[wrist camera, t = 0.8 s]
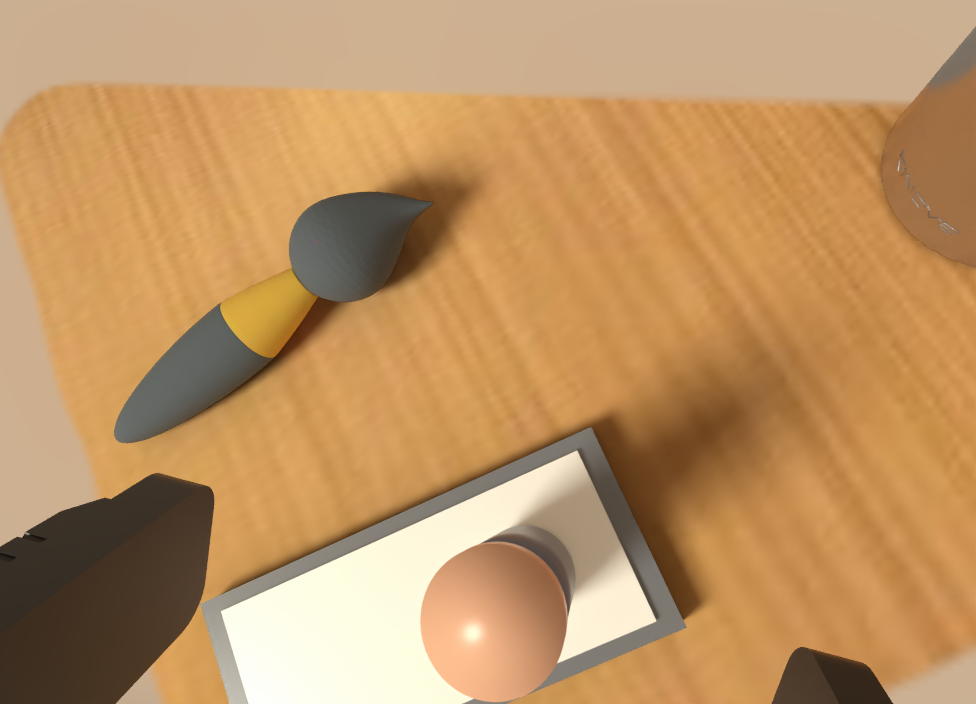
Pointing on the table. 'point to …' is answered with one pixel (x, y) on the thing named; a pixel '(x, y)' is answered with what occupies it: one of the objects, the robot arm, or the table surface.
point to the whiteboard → (410, 568)
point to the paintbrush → (273, 308)
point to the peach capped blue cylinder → (500, 613)
